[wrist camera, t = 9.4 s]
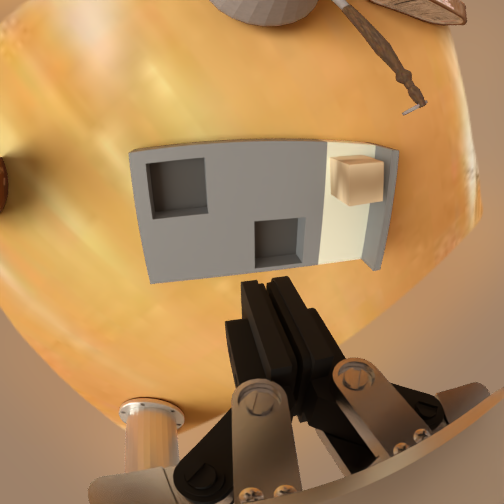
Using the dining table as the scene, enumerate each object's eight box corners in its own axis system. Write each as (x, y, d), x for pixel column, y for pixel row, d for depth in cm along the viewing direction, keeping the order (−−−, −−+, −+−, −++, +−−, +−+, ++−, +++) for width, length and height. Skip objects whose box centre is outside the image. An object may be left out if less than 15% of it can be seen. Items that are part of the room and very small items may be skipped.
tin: (434, 13, 21) (477, 7, 14) (437, 31, 23) (481, 27, 16) (347, -19, 19) (387, -42, 12) (350, 1, 21) (393, -19, 13)
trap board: (357, 248, 36) (380, 269, 31) (152, 272, 32) (147, 300, 27) (370, 142, 29) (399, 150, 25) (133, 149, 25) (121, 157, 20)
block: (362, 189, 29) (382, 201, 26) (330, 194, 29) (349, 206, 25) (362, 154, 27) (383, 161, 24) (329, 157, 27) (348, 164, 23)
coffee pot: (180, -25, 17) (179, -111, 4) (275, -56, 16) (329, -125, 3) (283, 130, 27) (364, 150, 14) (366, 89, 26) (469, 93, 13)
